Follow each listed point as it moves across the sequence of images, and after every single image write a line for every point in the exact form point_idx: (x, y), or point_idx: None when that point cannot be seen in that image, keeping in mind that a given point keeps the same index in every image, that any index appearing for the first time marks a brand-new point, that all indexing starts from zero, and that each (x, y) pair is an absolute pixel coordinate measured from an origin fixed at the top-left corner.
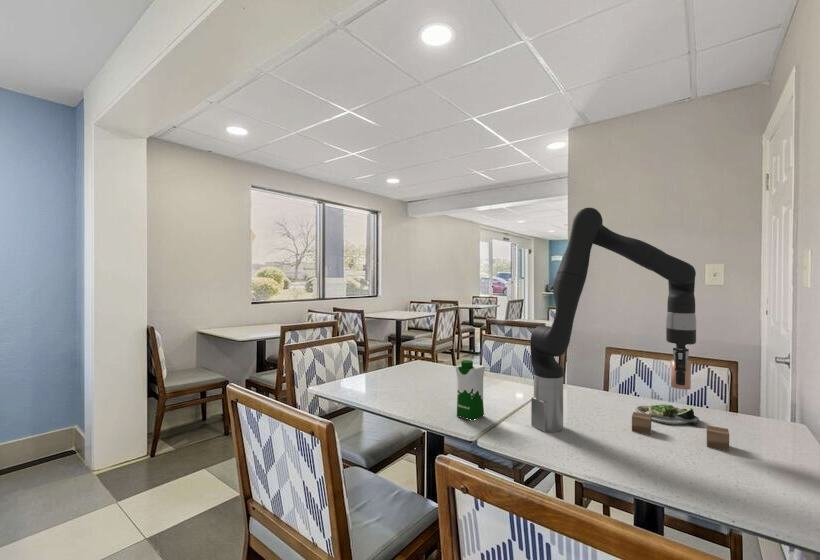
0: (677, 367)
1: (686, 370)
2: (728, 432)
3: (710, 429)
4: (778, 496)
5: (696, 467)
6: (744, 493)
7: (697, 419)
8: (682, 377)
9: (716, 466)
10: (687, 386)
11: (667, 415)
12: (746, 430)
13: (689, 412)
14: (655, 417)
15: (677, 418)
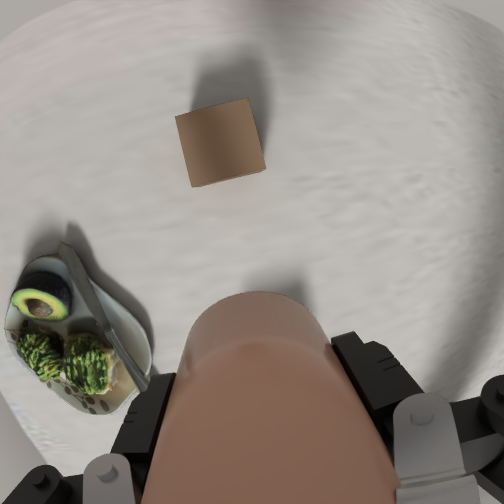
0: (495, 460)
1: (370, 425)
2: (224, 104)
3: (242, 161)
4: (434, 32)
5: (434, 169)
6: (470, 83)
7: (47, 259)
8: (406, 378)
9: (394, 128)
10: (304, 313)
11: (92, 339)
12: (15, 140)
13: (48, 287)
14: (138, 362)
15: (91, 309)
